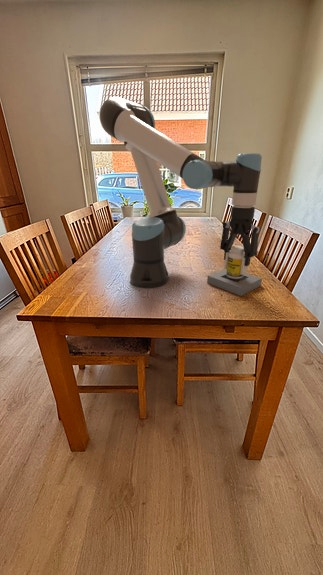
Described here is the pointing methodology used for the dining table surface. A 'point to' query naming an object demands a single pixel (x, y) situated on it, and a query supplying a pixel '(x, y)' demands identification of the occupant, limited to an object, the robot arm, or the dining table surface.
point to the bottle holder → (240, 288)
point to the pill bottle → (235, 262)
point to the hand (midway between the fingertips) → (235, 270)
